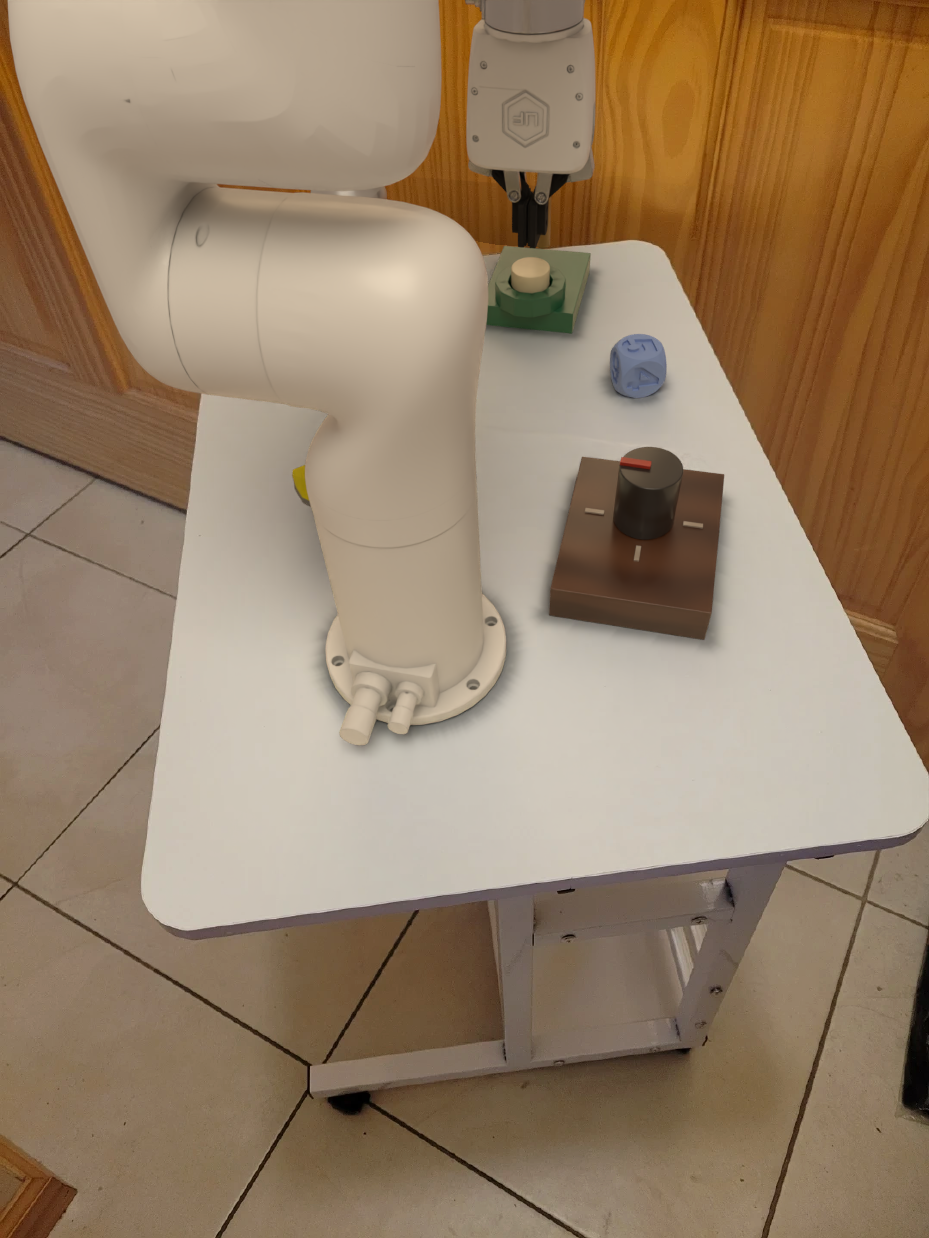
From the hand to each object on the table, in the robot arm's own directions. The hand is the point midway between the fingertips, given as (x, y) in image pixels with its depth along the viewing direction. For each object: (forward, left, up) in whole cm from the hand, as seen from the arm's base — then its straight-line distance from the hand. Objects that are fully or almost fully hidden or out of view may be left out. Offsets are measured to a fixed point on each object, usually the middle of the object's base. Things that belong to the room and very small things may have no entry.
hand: (529, 240), depth 81 cm
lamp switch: (+1, 0, -5) cm, 5 cm away
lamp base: (+4, 0, -8) cm, 9 cm away
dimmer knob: (-28, -14, -5) cm, 32 cm away
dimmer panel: (-29, -14, -8) cm, 33 cm away
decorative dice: (-8, -11, -9) cm, 16 cm away
